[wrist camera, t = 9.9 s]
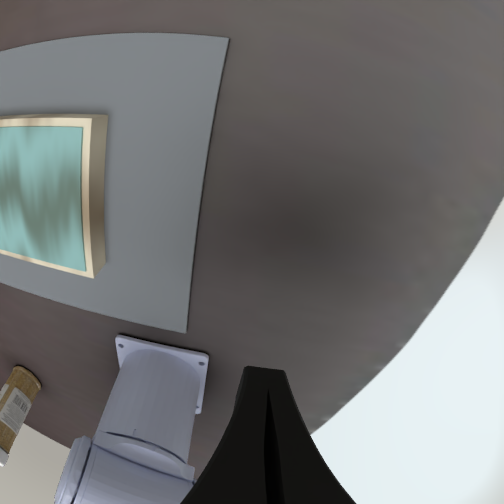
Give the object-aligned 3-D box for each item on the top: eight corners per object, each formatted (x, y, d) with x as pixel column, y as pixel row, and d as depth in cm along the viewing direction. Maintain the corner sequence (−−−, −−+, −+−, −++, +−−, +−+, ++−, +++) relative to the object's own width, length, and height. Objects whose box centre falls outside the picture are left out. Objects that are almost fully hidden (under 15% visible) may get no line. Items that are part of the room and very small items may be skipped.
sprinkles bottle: (9, 361, 28) (-35, 438, 16) (33, 369, 28) (-12, 454, 16) (24, 383, 30) (-14, 458, 18) (47, 391, 30) (10, 472, 18)
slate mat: (186, 330, 23) (185, 333, 23) (-18, 272, 21) (-20, 274, 21) (229, 39, 13) (228, 38, 13) (-33, 62, 12) (-36, 62, 12)
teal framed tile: (92, 279, 18) (-16, 249, 17) (105, 262, 20) (-1, 237, 19) (90, 118, 13) (-30, 122, 12) (108, 114, 15) (-10, 116, 14)
